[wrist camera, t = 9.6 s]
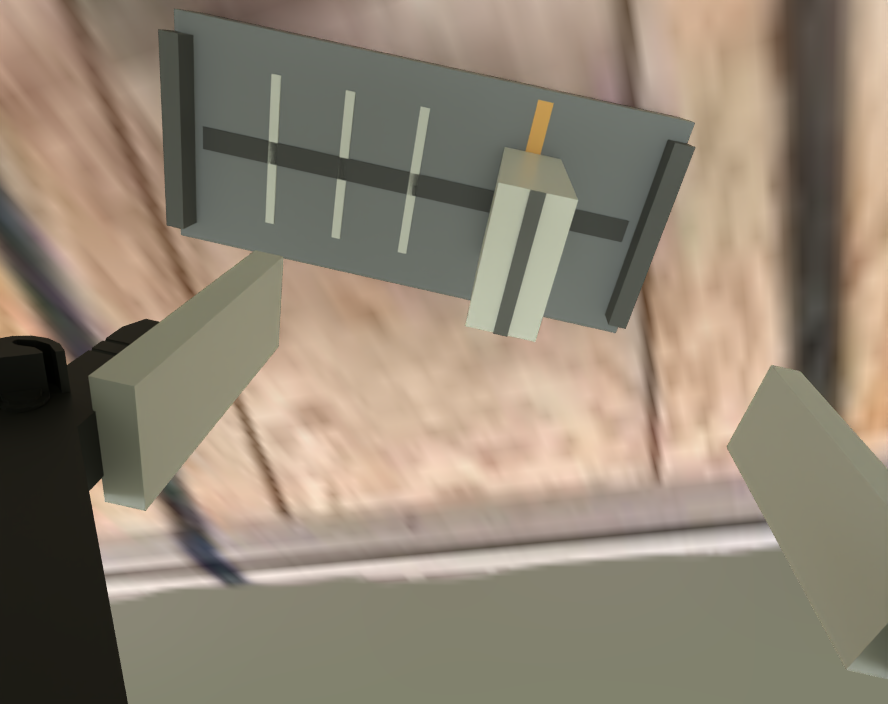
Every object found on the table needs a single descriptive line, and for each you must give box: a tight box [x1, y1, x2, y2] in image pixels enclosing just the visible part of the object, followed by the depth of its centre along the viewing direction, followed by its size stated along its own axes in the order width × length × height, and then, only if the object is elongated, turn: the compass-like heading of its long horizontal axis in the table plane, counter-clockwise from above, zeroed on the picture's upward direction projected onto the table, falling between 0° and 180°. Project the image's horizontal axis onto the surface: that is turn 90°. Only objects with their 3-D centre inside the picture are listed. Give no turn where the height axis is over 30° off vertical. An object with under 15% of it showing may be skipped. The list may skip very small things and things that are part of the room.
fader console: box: [158, 9, 695, 333], centre depth 32 cm, size 12×27×4 cm, turn 79°
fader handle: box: [465, 147, 578, 342], centre depth 27 cm, size 6×3×10 cm, turn 169°
